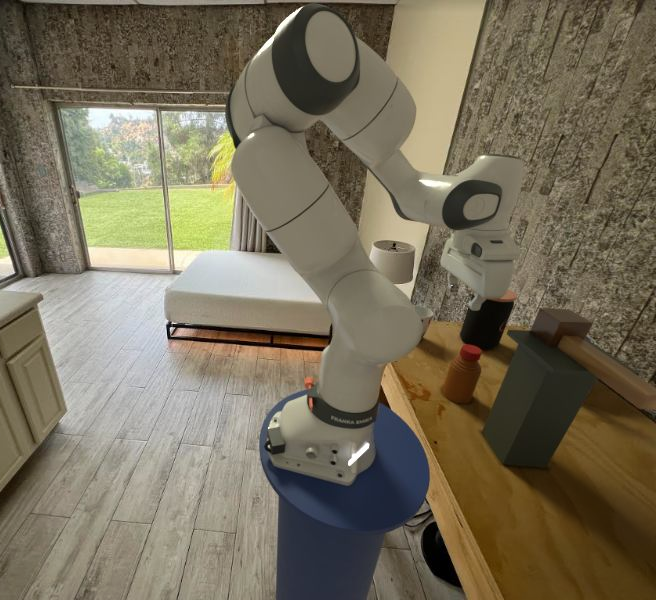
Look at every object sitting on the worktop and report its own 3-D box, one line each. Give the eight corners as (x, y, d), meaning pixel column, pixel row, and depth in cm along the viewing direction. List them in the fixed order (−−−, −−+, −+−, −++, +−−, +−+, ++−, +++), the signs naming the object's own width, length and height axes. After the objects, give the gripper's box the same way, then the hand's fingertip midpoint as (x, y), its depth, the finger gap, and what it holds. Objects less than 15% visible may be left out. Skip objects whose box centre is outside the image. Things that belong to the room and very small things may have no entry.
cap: (464, 361, 74) (467, 353, 73) (456, 351, 78) (459, 343, 77) (482, 362, 74) (485, 354, 73) (473, 352, 78) (476, 344, 77)
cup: (412, 346, 101) (419, 319, 96) (394, 334, 108) (399, 308, 103) (431, 341, 103) (439, 314, 99) (412, 329, 110) (418, 303, 106)
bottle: (448, 402, 79) (463, 357, 73) (438, 385, 84) (451, 342, 78) (476, 404, 78) (493, 359, 72) (463, 386, 84) (478, 343, 78)
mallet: (628, 408, 42) (647, 378, 40) (529, 331, 59) (539, 308, 57) (670, 411, 41) (692, 381, 39) (558, 332, 59) (569, 309, 57)
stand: (500, 477, 61) (554, 369, 49) (469, 428, 71) (507, 329, 60) (568, 483, 60) (639, 373, 48) (526, 432, 70) (576, 332, 59)
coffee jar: (499, 355, 96) (520, 302, 88) (458, 345, 101) (474, 294, 93) (496, 338, 104) (514, 288, 96) (458, 330, 109) (473, 282, 101)
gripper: (440, 228, 75) (428, 281, 81) (490, 254, 57) (471, 321, 63) (467, 227, 75) (454, 281, 81) (527, 254, 56) (504, 321, 62)
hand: (462, 299), depth 72 cm, fingers open, 8 cm apart
